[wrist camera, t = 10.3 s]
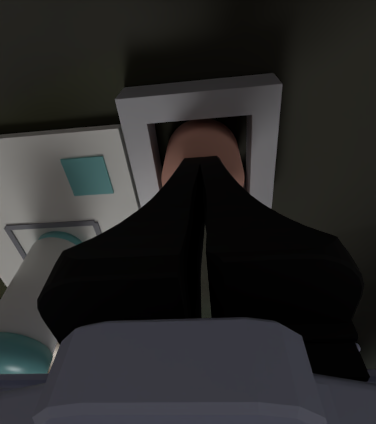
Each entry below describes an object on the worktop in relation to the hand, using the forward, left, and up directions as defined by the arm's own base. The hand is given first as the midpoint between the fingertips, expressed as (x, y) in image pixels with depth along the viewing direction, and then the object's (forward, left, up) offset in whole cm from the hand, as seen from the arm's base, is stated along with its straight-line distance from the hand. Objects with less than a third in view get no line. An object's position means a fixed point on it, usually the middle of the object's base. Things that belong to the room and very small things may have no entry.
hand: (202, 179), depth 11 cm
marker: (-5, +8, -2) cm, 10 cm away
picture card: (-7, +8, -3) cm, 11 cm away
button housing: (0, 0, -3) cm, 3 cm away
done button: (0, 0, -2) cm, 2 cm away
